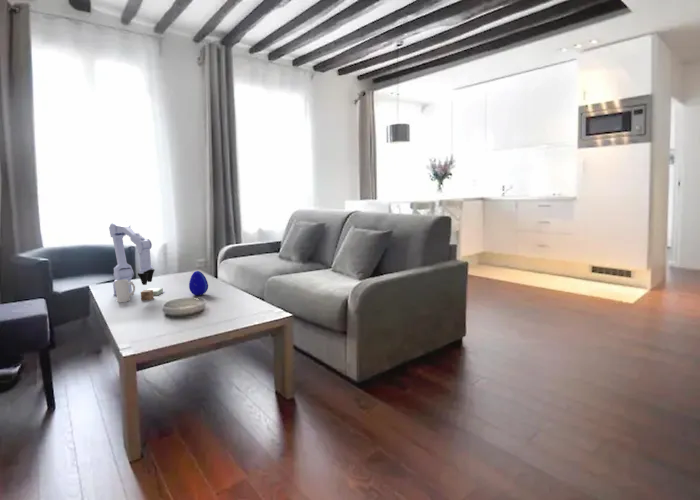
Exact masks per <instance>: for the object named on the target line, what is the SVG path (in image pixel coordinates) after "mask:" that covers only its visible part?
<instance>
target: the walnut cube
mask: <svg viewBox="0 0 700 500" xmlns="http://www.w3.org/2000/svg"><path fill="white" fill-rule="evenodd" d="M140 297H141V298H140V299H141V301H151V300H153V299H154V296H153V290H146V289H143V290H142V291H140Z"/></svg>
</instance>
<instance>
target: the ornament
mask: <svg viewBox="0 0 700 500" xmlns="http://www.w3.org/2000/svg"><path fill="white" fill-rule="evenodd" d="M188 283H189V284H188V287H189V291H190V292H191V294H192V295H193V296H202V295H204V294H206V292H208V289H209V282H208V280H207V277H206V276H205V275H204V273H203V272H201V271H199V270H196V271H194V272H192V274H191V276H190V279H189V282H188Z"/></svg>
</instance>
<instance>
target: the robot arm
mask: <svg viewBox="0 0 700 500" xmlns="http://www.w3.org/2000/svg"><path fill="white" fill-rule="evenodd" d="M108 228H109V229H108V230H109V234H110V235H109V236H110V238H112V241H113V247H114V251H115V257H116V263H117V264H116V265H115V266H114V267H113V278H114V281H113V283H112V285H113V296H117V295H116V287H115V281H117V280H128V282H132V278H133V277H134V269H133V267H132V265H131V264H129V263H128V262H127V255H126V251H125V246H124V240H123V238H124V237H126V236H128V237H129V238H130V241H131V242H132V243H133V244H135V246H136V249H137V253H138V254H139V266H140V268H139V270H138V271H139V272H138V273H137V276H138V277H139V279H140V281H141V285H143V286H146V285H147V283H151V282H152V281H153V275H154V273H155V270H156V269H154V267H153V265H152V260H151V259H152V258H151V248H152V245H153V244H152V241H151V240H150V239H147V238H145V237H143V236H142V235H141V234H140V233H139V232H135V231H134V230H133V228H132V227H131V224H130V223H129V222H127V221H126V222H117V223H113V222H112V223H110V225H109V227H108ZM128 288H129V293H131V292H132V291H133V286H132V285H131V284H130V285H128ZM135 292H136V290H135V291H134V293H135Z"/></svg>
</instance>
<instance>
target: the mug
mask: <svg viewBox="0 0 700 500" xmlns="http://www.w3.org/2000/svg"><path fill="white" fill-rule="evenodd" d="M114 281H115V280H114ZM130 284H131V287H132V292H131V293H129V288H128V285H130ZM115 287H116V295H115V296H116V300H117V301H116V302H118V303H126V302H129V301H130V296H134V294H135V292H136V285H135V283H134V282H133V281H131V282H128V280H117V281H115ZM134 291H135V292H134Z"/></svg>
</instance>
